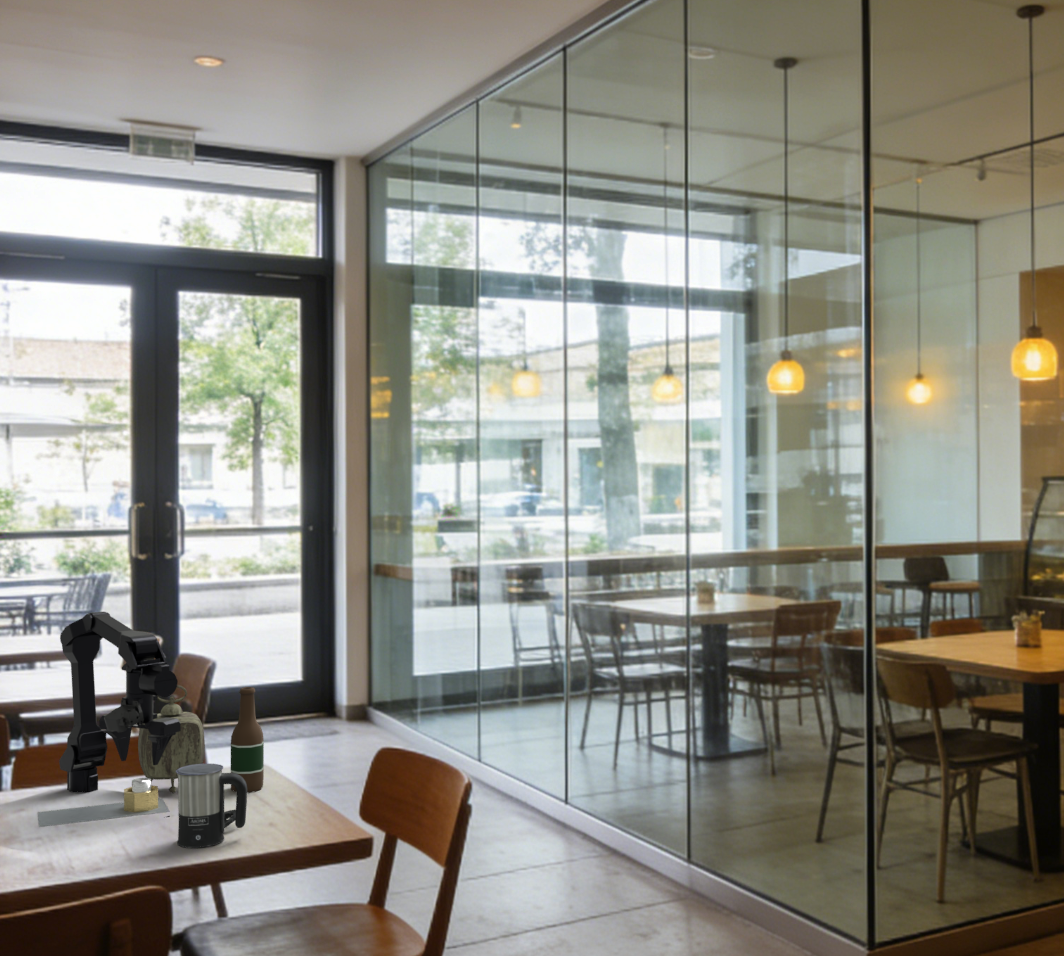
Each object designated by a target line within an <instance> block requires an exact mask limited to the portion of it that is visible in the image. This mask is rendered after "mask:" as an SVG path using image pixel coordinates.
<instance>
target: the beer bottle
mask: <svg viewBox="0 0 1064 956" xmlns="http://www.w3.org/2000/svg"><path fill="white" fill-rule="evenodd" d="M255 693H256V689H255V687H253V686H245V687H241V688H240V690H239V694H240V699H239V713H238V714H239V715H238V716H239V717H238V721H237V723H236V725H235V727H234V728H233V731H232V733H231V736H230V773H236V774H238V775H240V776H241V777H242V778H243V779H244V780H245V782H246V784H247V793H253V792H258V791H261V790H262V788H263V787H264V774H265V773H264V772H265V771H264V770H265V769H264V766H265V765H264V764H265V761H264V757H265V755H264V745H265V744H264V743H265V741H264V733H263V732H264V731H263V730H262V727H261V725H260V724H259V723H258V721H257V718H256V716H257V715H256V705H255ZM230 790H231V791H232V792H236V793H237V791H236V788H235V786H234V785H231V784H230Z"/></svg>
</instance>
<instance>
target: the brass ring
mask: <svg viewBox="0 0 1064 956" xmlns="http://www.w3.org/2000/svg"><path fill="white" fill-rule="evenodd" d="M158 799H159V788H158V786H157V785H153V784H151V791H148V792H140V793H133V792H132V786H130V787H127V788H124V789H123V802H124V811H129V812H143V811H150V810H153V809H155V808H158Z"/></svg>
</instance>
